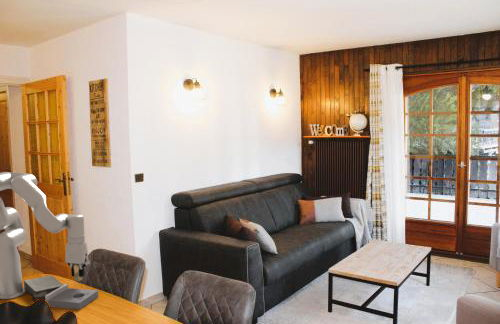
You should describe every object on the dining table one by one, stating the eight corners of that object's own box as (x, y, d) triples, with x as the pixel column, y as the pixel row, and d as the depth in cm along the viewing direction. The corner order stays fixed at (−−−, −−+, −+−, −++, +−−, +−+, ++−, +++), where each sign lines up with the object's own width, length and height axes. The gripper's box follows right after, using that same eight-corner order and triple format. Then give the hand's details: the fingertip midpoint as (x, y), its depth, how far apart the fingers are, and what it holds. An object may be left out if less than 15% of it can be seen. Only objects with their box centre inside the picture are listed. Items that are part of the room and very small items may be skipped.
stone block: (35, 301, 201) (35, 291, 200) (23, 290, 215) (23, 280, 214) (65, 293, 210) (65, 283, 209) (52, 283, 224) (51, 273, 224)
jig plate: (46, 306, 195) (45, 295, 195) (66, 293, 209) (65, 284, 208) (80, 309, 191) (79, 298, 190) (98, 296, 204) (97, 286, 204)
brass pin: (72, 281, 210) (71, 263, 209) (77, 278, 214) (76, 261, 213) (79, 281, 209) (78, 263, 208) (83, 279, 213) (82, 261, 212)
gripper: (56, 240, 208) (58, 277, 210) (86, 243, 204) (88, 280, 205) (66, 236, 215) (68, 271, 217) (95, 238, 211) (97, 274, 213)
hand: (77, 275), depth 211 cm, fingers closed on brass pin, 3 cm apart
